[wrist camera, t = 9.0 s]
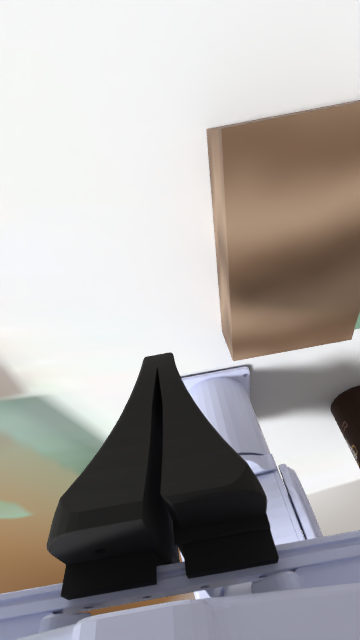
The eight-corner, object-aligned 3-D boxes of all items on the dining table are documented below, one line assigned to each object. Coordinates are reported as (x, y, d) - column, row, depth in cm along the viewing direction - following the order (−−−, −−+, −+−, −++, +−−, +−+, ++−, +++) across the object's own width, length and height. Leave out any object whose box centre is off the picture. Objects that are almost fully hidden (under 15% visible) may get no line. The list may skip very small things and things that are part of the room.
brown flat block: (325, 313, 26) (351, 339, 22) (222, 332, 26) (233, 361, 22) (368, 98, 16) (423, 90, 13) (206, 129, 16) (221, 128, 13)
